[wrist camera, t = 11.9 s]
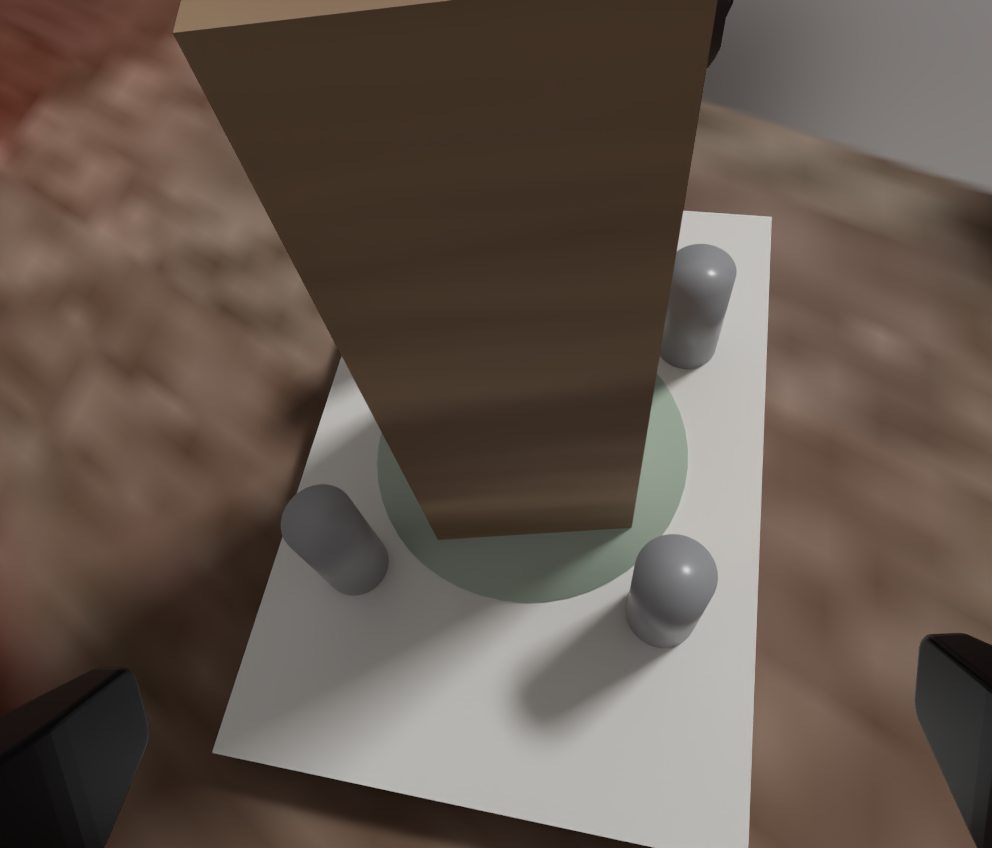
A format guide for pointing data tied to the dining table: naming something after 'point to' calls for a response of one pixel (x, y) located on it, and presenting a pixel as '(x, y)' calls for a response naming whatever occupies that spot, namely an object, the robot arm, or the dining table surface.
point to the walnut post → (477, 224)
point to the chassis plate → (539, 607)
